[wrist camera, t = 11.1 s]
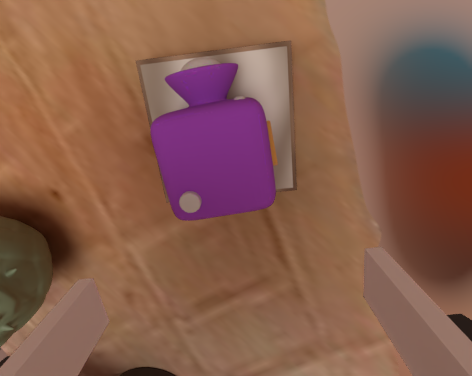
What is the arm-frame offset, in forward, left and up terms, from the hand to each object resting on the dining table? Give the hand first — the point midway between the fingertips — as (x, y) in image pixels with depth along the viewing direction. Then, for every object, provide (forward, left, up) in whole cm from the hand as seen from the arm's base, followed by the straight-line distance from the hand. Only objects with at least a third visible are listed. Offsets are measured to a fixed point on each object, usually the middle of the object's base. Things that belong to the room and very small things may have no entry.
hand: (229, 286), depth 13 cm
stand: (-1, +5, -24) cm, 25 cm away
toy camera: (-1, +5, -19) cm, 20 cm away
